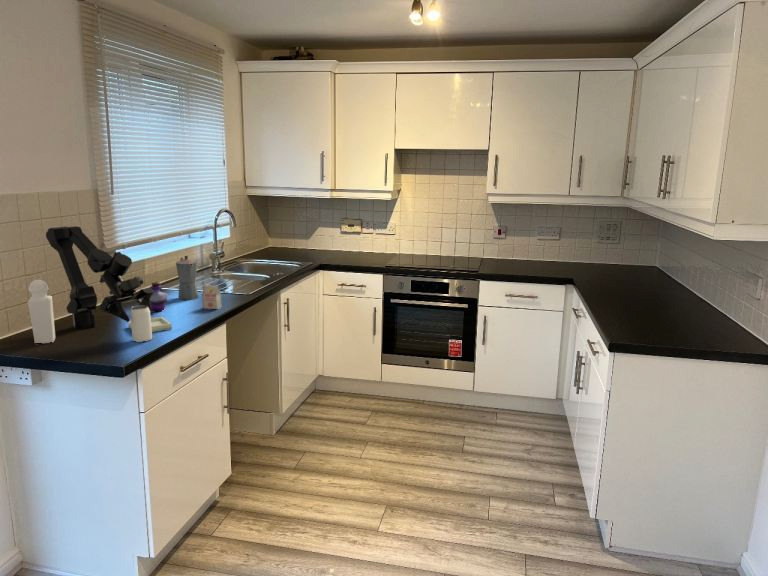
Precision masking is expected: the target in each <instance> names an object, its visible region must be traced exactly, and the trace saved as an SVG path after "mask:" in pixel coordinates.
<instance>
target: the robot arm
mask: <svg viewBox="0 0 768 576" xmlns="http://www.w3.org/2000/svg"><path fill="white" fill-rule="evenodd" d="M45 237H46V240H47V241H48V243H49V245H50V247H51V248H53V249H54V250H55V251H57V252H58V255H59V258H60V260H61V263H62V267H63V269H64V272H65V273H66V274H65V275H66V277H67V279H68V282H69V285H70V287H71V289H70V293H69V298H70V300H69V303H68V304H67V306H66V311H67V313H68V314H72V320H73V321H72V322H73V324H72V326H73V328H74V330H75V331H77V330H84V329H89V328H90V329H91V328H95V324H96V322H95V321H96V320H95V314H94V313H93V310H97V307H98V306H97V304H98V297H97V296H98V295H97V294H96V291H95V287H94V286H93V285H88V284H87V283H86V281H85V278H84V275H83V272H82V270H81V267H80V265H79V261H78V260H77V257H76V255H75V254H76V253H75V251H74V249H73V246H75V247H76V248H77V250H79V251H80V252H81V254H83V255H84V256H85V258H86V259H87V265H88V267H89V268H90V269H91V271H92V272H93V273H103V274H101V275H100V277H99V278H100V279H99V283H100V284H103V283H105V285H106V286H107V287H108V289H109V294H110V295H109V296H105V297H104V298H103V300H101V301H102V302H101V303H100V304H99V309H100V310H101V312H102V313H107V314H111V315H112V316H116V317H117V318H120V319H122V320H123V321H125V322H126V323H128V322H130V321H131V318H130V317H129V316H128V314H127V313H126V311H125V309H124V308H123V306H122V304H125V303H129V302H133V301H136V303H138V305H147V306H148V308H149V310H150V316H152V315H153V311H151V306H150V298H151V296H152V295H153V293H154V292H153V290H152V289H151V287H146V288H141V287H142V285H143V284H144V280H143V278H142V277H141V276H140V275H136V276H135V277H132V278H128V279H127V280H125V279H124V278H123V276H125V275H126V273H127V272H128V270H129V269H130V267H131V265H132V264H133V261H132V258H131V257H129V256H128V255H127V254H124V253H122V252H121V251H116V252H114V253H113V256H112V255H111V254H109V253H108V252H107V251H104V250H101V249H99V247H97V246H96V244H94V243H93V242H92V240H90V238H89V237H88V236H87V235H86V234H85V233H84V232H83V230H82V227H80V226H76V225H75V226H59V227H49V228H48V230H47V231H46V232H45ZM138 288H141V289H140V290H139V291H138V293H137V294H135V293H136V292H137V289H138Z"/></svg>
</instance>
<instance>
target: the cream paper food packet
mask: <svg viewBox="0 0 768 576" xmlns="http://www.w3.org/2000/svg"><path fill="white" fill-rule="evenodd" d="M201 297H202V309H203V308H205V309H204V310H211V309H218V310H220V309H222V308H221V307H223V306H222V294H221V291H220V287H219V286H218V285H207V284H206V285H203V290H202V296H201ZM219 308H220V309H219Z"/></svg>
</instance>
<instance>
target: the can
mask: <svg viewBox="0 0 768 576" xmlns="http://www.w3.org/2000/svg"><path fill="white" fill-rule="evenodd" d="M129 315H130V317H129V319H130V321H131V329H132V330H131V329H130V330H131V337H132V341H133V342H134V341H136V342H135V343H144V342H143V341H147V342H149V341H148V340H150V341H151V340H152V339H153V333H152V328H151V318H152V317H151V316H152V315H151V316H150V310H149V308H148V306H147V305H139V304H138V305H134V306H131V307H130V311H129Z"/></svg>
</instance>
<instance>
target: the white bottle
mask: <svg viewBox="0 0 768 576" xmlns="http://www.w3.org/2000/svg"><path fill="white" fill-rule="evenodd" d="M49 289H50V288H49V286H48V284H47V282H46V281H45V280H43V279H34V280H32V281H31V282H30V284H29V287H28V292H29V293H30V295H31V297H30V298H29V300H28V301H27V306H28V312H29V317H30V324H31V328H32V329H31V330H32V333H33V334H32V335H33V339H34V344H35V343H42V344H51V343H50V342H52V343H54V342H55V340H56V330H55V328H56V327H55V318H54V317H55V315H54V306H53V304H54V303H53V296H52V295H48V291H49Z"/></svg>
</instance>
